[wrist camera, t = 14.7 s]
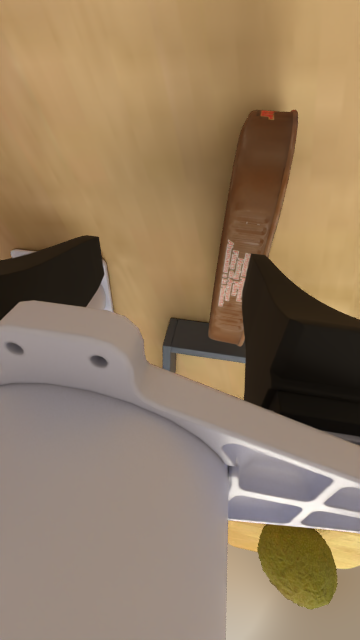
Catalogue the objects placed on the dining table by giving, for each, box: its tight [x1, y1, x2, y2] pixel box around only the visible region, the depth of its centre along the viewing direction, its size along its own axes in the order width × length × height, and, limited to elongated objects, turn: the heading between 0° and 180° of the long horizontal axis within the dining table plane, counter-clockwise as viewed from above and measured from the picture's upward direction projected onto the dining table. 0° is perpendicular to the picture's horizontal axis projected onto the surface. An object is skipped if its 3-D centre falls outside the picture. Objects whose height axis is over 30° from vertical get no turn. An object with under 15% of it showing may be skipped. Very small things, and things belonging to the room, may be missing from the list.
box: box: [163, 318, 246, 373], centre depth 33 cm, size 14×20×4 cm
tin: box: [208, 110, 298, 347], centre depth 18 cm, size 15×3×8 cm, turn 177°
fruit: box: [257, 524, 338, 609], centre depth 58 cm, size 16×14×15 cm
